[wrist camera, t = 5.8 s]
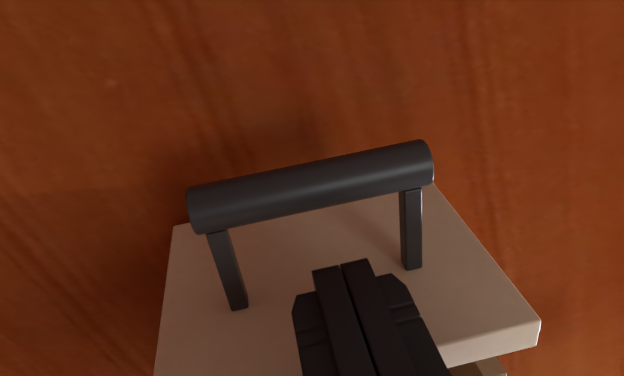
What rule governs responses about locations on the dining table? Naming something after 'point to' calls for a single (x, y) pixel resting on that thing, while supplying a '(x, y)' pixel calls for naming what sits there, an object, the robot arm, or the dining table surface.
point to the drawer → (324, 253)
